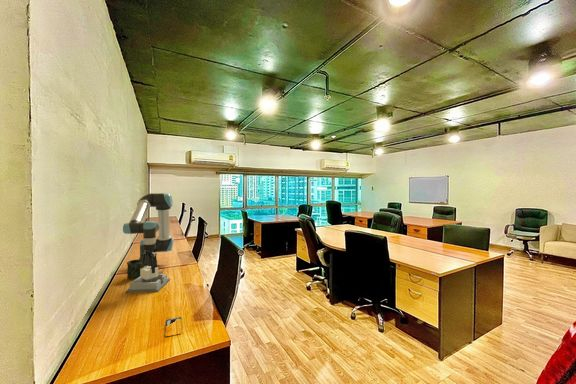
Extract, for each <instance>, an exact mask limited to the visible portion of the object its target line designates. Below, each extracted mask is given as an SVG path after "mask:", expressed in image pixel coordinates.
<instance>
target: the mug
mask: <svg viewBox="0 0 576 384" xmlns="http://www.w3.org/2000/svg"><path fill="white" fill-rule="evenodd" d="M126 265H127V269H126V271H127V272H126V273H127V275H126V277H127V280H136V279H137V278H138V277H140V269H141V268H144V267H143V265H142V260H141V259H132V260H128V261H127V262H126Z"/></svg>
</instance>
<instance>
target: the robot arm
mask: <svg viewBox="0 0 576 384" xmlns="http://www.w3.org/2000/svg"><path fill="white" fill-rule="evenodd" d="M173 205H174V204H173V197H172V195H171V194H170V193H165V192H164V193H163V192H162V193H159V192H157V193H156V192H155V193H147V194H145V195H143V196H142V197H141V198H139V200H138V201H137V203H136V208H135V211H134V213H133V214H132V216H131V218H130V221H129V222H127V223H124V224H123V226H122V232H123V233H124V235H126V234H127V235H129V234H130V235H133V234H143V235H142V237H143V238H142V239H141V240H140V241H139V257H138V258H139V259H141V260H142V265H143V268H145V267H149V266H151V268H150V278H154V277H155V268H157V267H158V259H157V253H165V252H171V251H172V250H173V247H174V241H175V240H174V238H173V237H172V235H171V234H170V231H171V230H170V210H171V208H172V207H173ZM152 207H153V208H155V210H156V211H157V216H158V219H157V220H158V222H157V221H154V220H147V221H144V219H145V216H146V214H147V211H148V210H149V209H150V208H152ZM157 232H158V237H157V234H156V233H157Z"/></svg>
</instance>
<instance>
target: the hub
mask: <svg viewBox="0 0 576 384" xmlns="http://www.w3.org/2000/svg"><path fill="white" fill-rule="evenodd" d="M150 268H151V266H148V267H145V268H144V267H143V268H141V269H140V278H143V279H146V280H148V279H151V278H150ZM160 274H164V269H159V267H158V266H157V268H155V277H158V275H160Z"/></svg>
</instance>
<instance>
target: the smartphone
mask: <svg viewBox="0 0 576 384" xmlns="http://www.w3.org/2000/svg"><path fill="white" fill-rule="evenodd" d="M178 319H182V316H179V317H173V318H169V319H166V320H165V324H166V325H165V324H164V325H165V327H166V326H168V325H169V324H171V323H173V322H175V321H177V320H178Z"/></svg>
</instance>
